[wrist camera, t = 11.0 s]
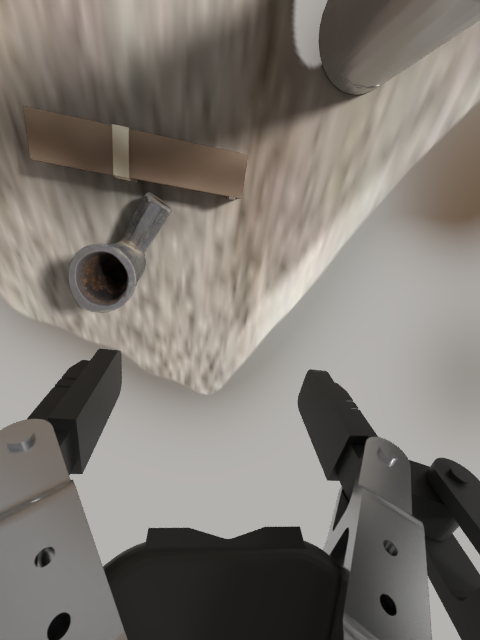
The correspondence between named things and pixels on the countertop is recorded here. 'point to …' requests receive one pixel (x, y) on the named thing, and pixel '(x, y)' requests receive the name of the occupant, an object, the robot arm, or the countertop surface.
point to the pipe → (116, 260)
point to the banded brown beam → (133, 154)
